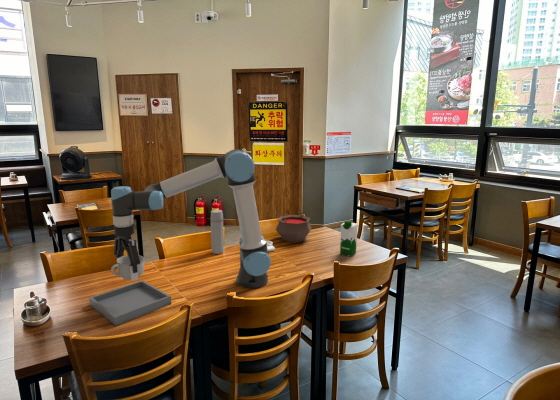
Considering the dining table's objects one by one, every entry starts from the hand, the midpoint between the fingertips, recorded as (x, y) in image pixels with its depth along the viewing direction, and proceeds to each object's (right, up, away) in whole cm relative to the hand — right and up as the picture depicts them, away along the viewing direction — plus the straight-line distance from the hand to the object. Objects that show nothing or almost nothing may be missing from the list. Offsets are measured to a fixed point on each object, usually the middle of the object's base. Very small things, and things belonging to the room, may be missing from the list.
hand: (128, 275), depth 157 cm
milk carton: (+103, 0, +64) cm, 122 cm away
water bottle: (+27, +1, +66) cm, 71 cm away
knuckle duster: (+51, +1, +71) cm, 88 cm away
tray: (0, -13, +3) cm, 13 cm away
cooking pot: (+72, +6, +91) cm, 116 cm away
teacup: (0, -1, 0) cm, 1 cm away
